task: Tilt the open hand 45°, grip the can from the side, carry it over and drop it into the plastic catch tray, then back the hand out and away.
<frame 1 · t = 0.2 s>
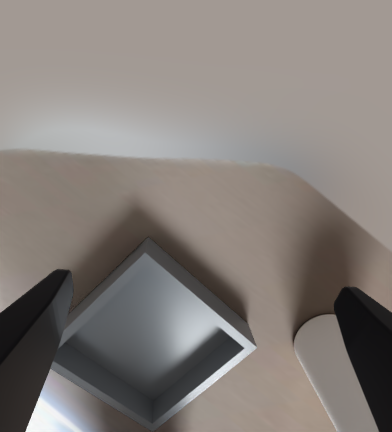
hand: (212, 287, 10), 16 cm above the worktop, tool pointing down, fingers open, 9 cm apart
catch tray: (151, 328, 28), on the worktop
can: (320, 336, 31), on the worktop
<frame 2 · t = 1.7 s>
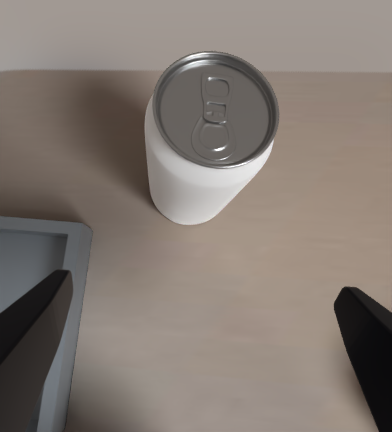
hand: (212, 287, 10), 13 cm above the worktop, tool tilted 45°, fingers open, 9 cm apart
can: (188, 188, 24), on the worktop
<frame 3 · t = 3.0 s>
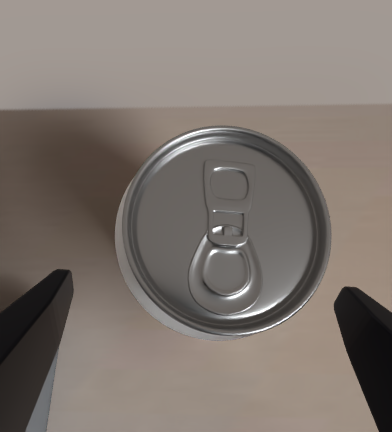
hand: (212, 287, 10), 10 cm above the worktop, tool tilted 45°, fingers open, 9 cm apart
can: (186, 258, 19), on the worktop
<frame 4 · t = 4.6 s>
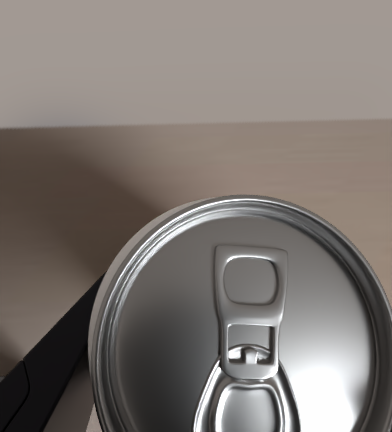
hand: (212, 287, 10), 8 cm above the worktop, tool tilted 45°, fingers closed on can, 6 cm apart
can: (187, 299, 17), on the worktop, touching gripper
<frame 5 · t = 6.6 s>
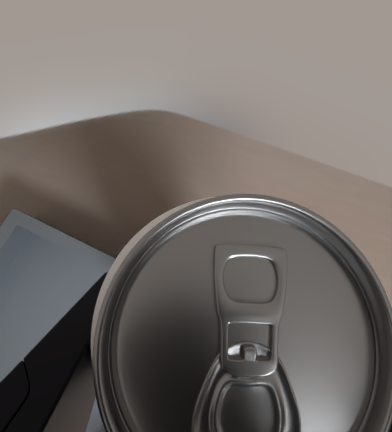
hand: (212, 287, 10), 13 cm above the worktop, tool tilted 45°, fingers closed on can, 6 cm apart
catch tray: (67, 347, 20), on the worktop
can: (190, 298, 17), point 5 cm above the worktop, touching gripper
when the fingers open (10 cm above the worktop, at t = 8.4 s): can drops 1 cm, resting on catch tray.
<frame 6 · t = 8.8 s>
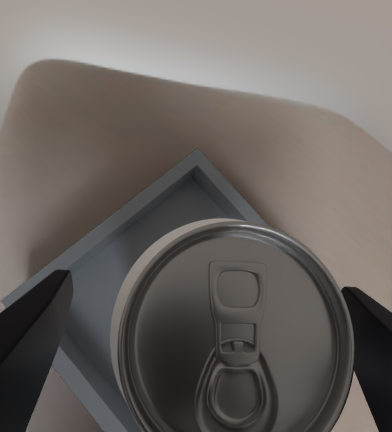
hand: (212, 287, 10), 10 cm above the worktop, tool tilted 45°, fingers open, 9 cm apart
catch tray: (183, 304, 19), on the worktop
can: (187, 301, 18), point 1 cm above the worktop, touching catch tray
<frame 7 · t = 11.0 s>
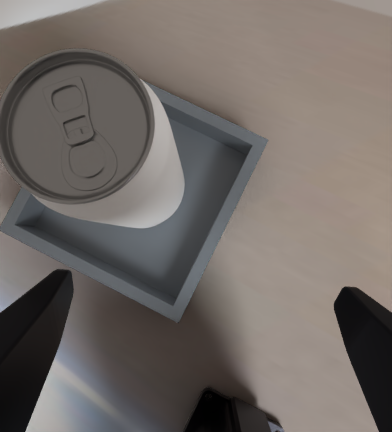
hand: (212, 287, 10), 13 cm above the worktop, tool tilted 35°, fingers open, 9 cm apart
catch tray: (143, 192, 23), on the worktop
can: (143, 186, 22), point 1 cm above the worktop, touching catch tray
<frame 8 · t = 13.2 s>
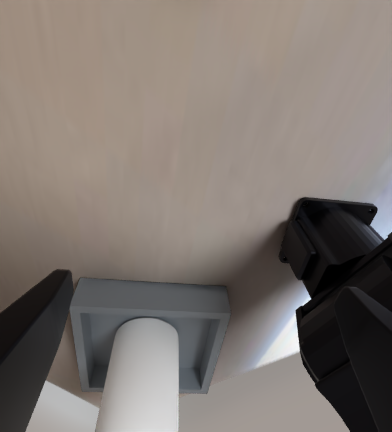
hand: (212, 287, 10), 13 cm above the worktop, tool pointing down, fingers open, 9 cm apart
catch tray: (151, 328, 31), on the worktop
can: (147, 333, 30), point 1 cm above the worktop, touching catch tray
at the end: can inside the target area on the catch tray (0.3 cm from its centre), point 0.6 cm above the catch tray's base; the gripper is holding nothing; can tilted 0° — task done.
